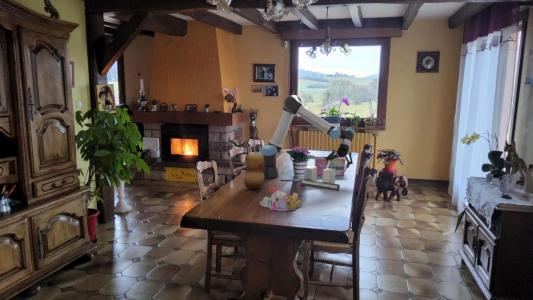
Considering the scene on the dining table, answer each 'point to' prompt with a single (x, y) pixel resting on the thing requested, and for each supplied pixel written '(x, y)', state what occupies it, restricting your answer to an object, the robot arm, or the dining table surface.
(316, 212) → the dining table surface
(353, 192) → the dining table surface
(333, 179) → the tea carton
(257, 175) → the butternut squash
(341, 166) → the gum box
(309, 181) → the price rail
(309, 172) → the oat carton
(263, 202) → the pastel sphere sculpture
